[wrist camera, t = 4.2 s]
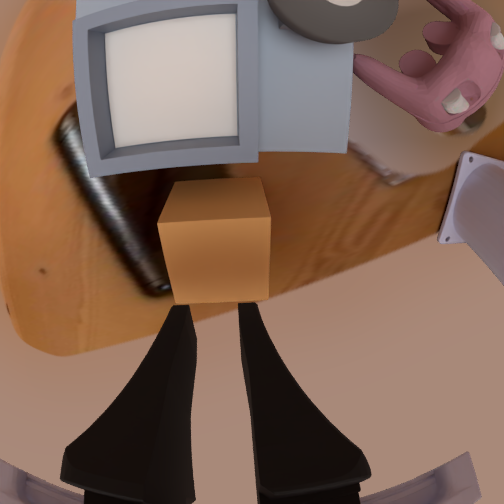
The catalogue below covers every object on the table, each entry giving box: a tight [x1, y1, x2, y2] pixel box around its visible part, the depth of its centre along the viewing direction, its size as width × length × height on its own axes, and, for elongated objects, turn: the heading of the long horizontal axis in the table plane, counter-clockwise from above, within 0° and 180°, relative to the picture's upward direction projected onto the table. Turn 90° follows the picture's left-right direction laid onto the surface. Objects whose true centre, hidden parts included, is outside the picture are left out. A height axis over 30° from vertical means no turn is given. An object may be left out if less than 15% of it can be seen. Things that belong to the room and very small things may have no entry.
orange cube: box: [157, 177, 271, 304], centre depth 16 cm, size 5×5×5 cm
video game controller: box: [353, 0, 504, 132], centre depth 9 cm, size 10×5×7 cm, turn 148°
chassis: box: [73, 0, 354, 178], centre depth 10 cm, size 14×11×4 cm
